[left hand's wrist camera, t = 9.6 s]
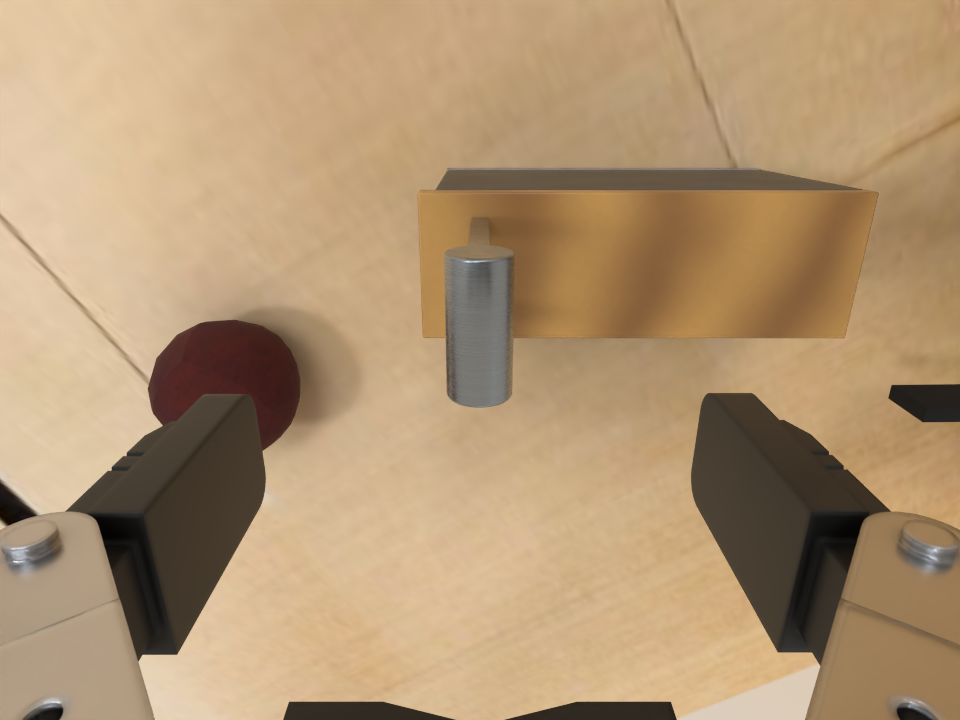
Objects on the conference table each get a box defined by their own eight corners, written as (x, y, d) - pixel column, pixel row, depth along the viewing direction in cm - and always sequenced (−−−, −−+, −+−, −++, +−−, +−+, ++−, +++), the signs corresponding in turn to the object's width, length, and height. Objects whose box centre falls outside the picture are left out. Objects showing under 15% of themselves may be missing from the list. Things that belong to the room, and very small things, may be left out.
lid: (424, 331, 25) (397, 432, 17) (419, 189, 23) (386, 229, 15) (834, 332, 25) (999, 433, 17) (866, 189, 23) (1071, 229, 15)
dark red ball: (283, 438, 38) (243, 505, 32) (166, 379, 37) (99, 436, 30) (336, 345, 36) (304, 396, 30) (213, 278, 35) (152, 316, 28)
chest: (449, 273, 35) (438, 331, 25) (447, 168, 33) (434, 189, 23) (738, 273, 35) (833, 331, 25) (755, 168, 33) (866, 189, 23)
